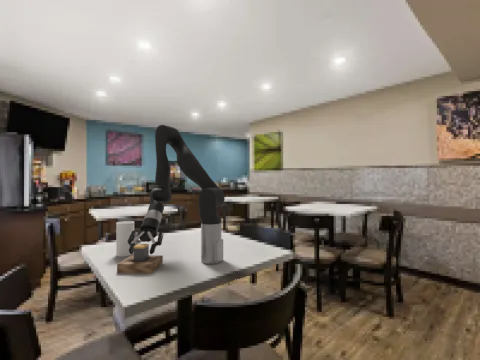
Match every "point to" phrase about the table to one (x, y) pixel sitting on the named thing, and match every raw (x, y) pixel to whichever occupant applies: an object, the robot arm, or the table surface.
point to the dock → (140, 265)
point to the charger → (141, 253)
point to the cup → (123, 237)
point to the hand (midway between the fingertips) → (140, 253)
